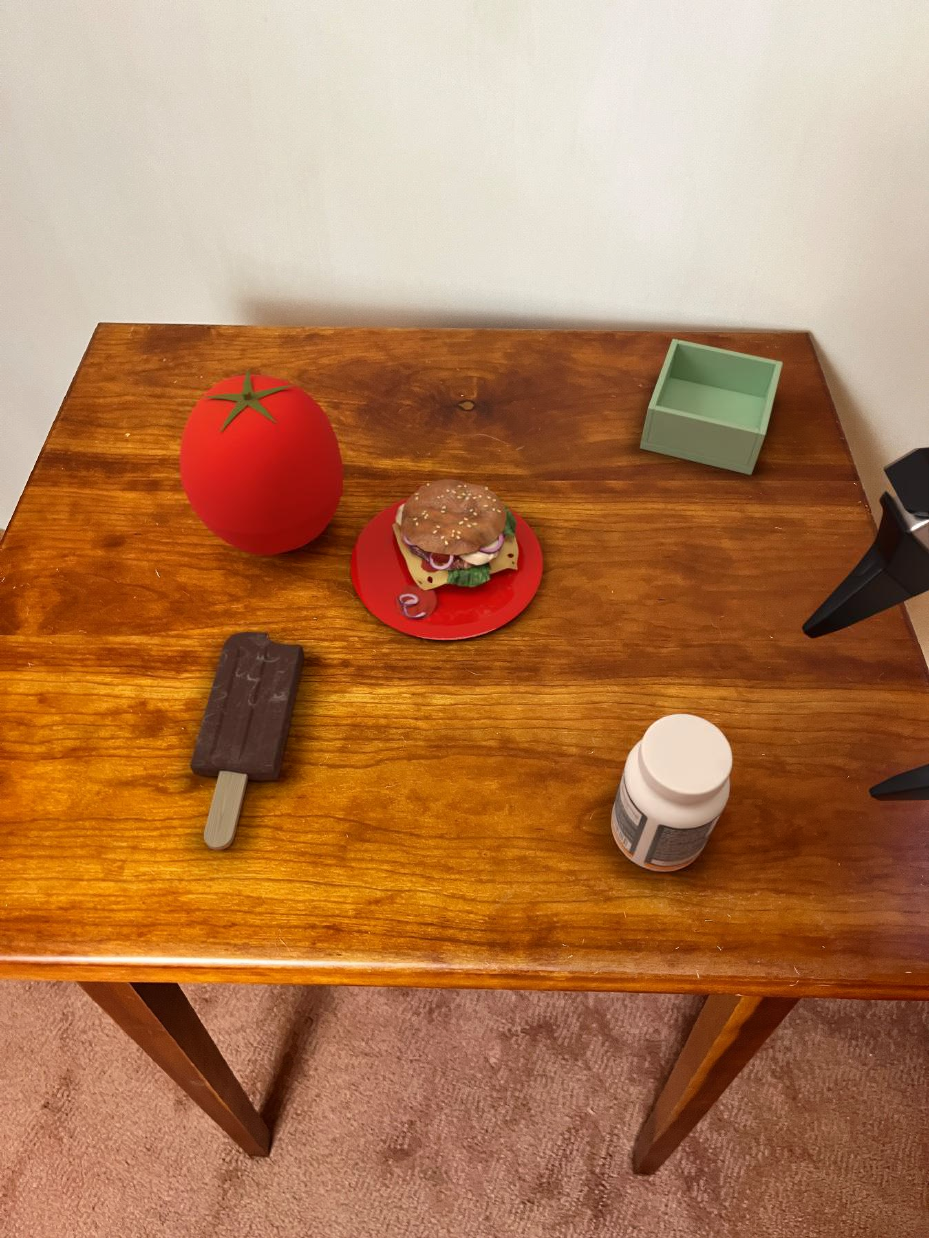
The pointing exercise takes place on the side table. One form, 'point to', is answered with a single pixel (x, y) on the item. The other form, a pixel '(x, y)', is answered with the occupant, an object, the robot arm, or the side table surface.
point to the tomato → (261, 464)
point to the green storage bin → (711, 406)
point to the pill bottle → (672, 792)
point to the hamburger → (447, 562)
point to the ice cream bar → (245, 724)
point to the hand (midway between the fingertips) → (837, 709)
